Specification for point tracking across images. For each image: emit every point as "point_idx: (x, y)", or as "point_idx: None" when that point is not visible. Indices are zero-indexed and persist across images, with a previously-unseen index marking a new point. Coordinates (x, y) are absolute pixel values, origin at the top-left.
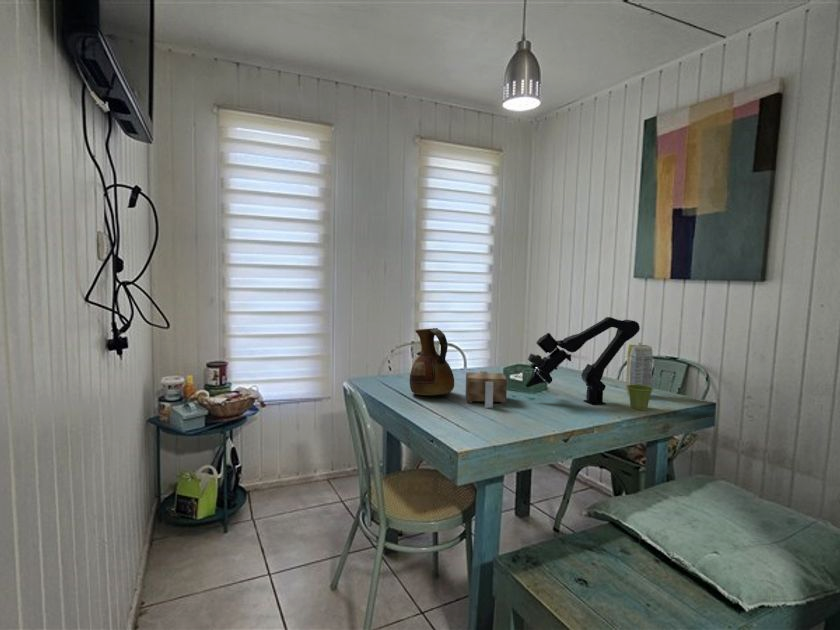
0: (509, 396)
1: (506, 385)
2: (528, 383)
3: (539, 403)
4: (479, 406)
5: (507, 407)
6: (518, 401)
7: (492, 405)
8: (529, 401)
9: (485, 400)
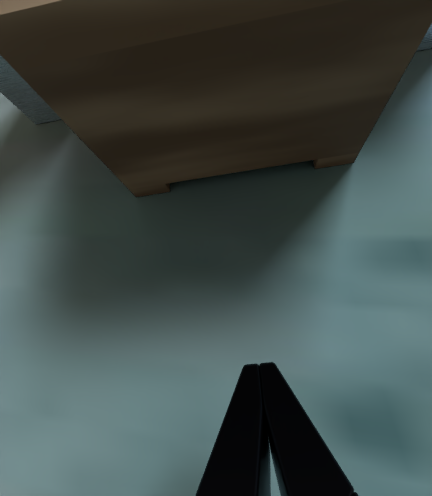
0: (398, 218)
1: (43, 97)
2: (228, 419)
3: None
4: None
5: (59, 207)
6: (238, 288)
7: (23, 111)
8: None
9: None
